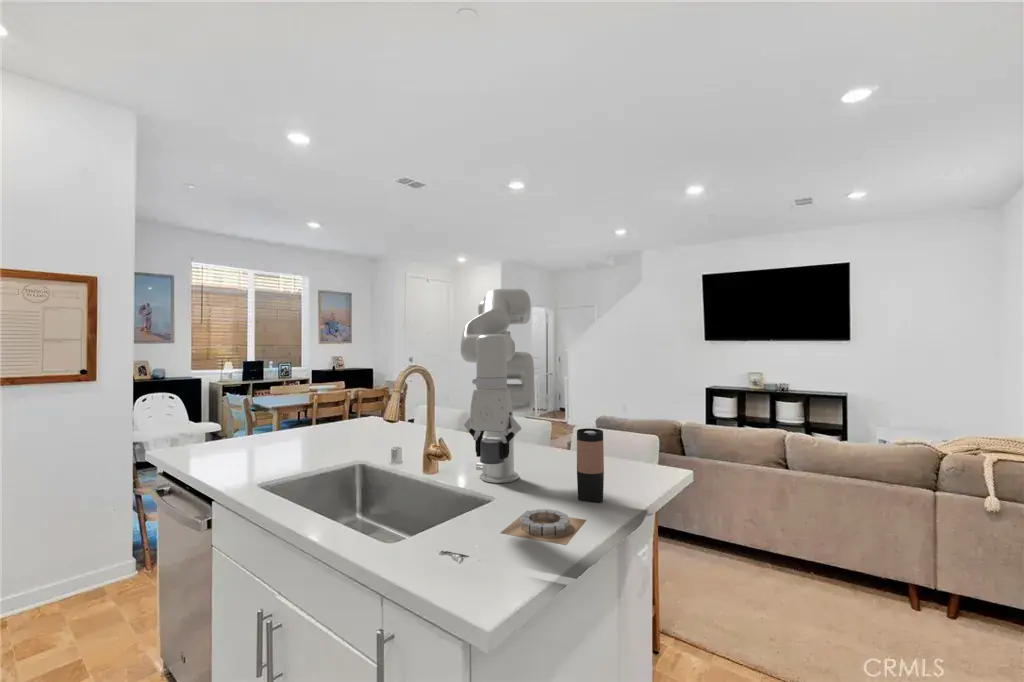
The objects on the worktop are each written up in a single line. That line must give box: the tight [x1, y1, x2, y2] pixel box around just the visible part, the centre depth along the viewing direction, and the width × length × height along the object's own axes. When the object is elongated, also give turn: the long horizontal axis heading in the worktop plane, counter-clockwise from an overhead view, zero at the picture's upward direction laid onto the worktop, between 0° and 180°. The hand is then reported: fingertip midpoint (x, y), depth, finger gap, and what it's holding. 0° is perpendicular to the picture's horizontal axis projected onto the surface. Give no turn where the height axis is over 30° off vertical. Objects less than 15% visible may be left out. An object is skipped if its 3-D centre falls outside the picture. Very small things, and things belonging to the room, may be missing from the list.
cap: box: [479, 437, 504, 464], centre depth 116 cm, size 6×6×5 cm
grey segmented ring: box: [519, 509, 570, 536], centre depth 112 cm, size 12×12×2 cm
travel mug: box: [576, 427, 605, 505], centre depth 134 cm, size 8×8×20 cm
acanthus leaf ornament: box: [438, 545, 479, 564], centre depth 101 cm, size 8×7×2 cm
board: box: [499, 510, 587, 546], centre depth 112 cm, size 16×16×1 cm
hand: (492, 456), depth 116 cm, fingers closed on cap, 5 cm apart
